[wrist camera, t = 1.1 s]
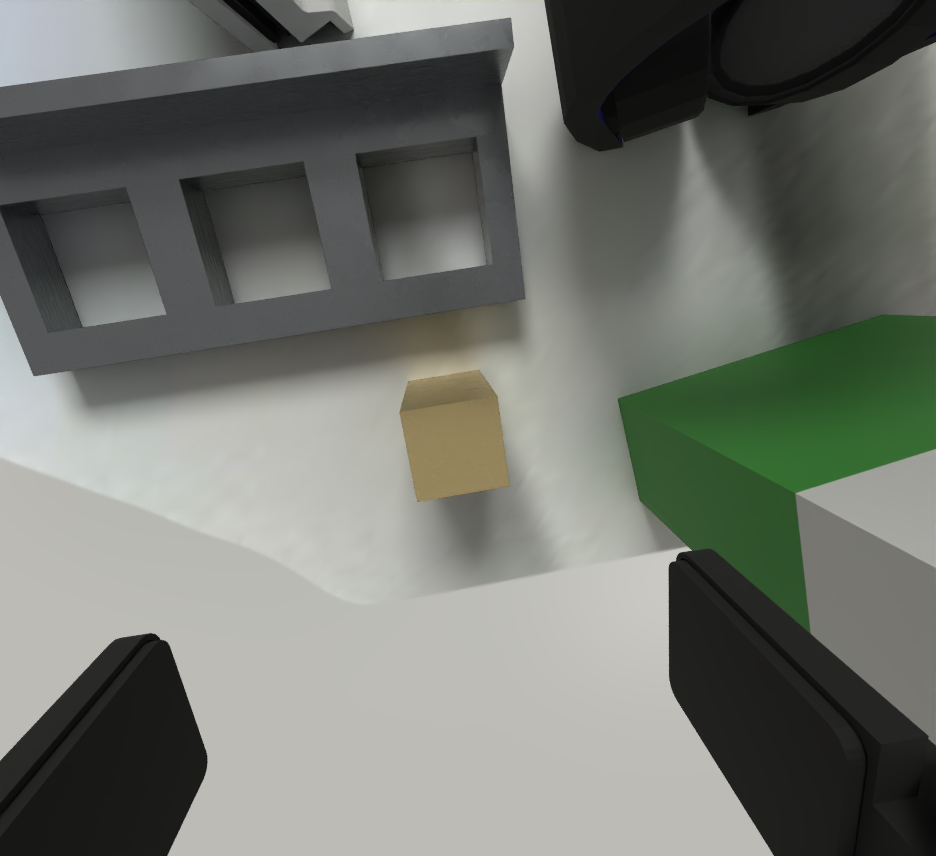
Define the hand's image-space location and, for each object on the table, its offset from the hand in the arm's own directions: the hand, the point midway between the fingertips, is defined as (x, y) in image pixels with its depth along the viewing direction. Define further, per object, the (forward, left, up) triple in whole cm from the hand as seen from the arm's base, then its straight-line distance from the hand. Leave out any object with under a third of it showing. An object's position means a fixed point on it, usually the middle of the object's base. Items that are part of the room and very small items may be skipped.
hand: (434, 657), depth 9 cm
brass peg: (-1, 0, -21) cm, 21 cm away
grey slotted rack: (+7, -11, -21) cm, 25 cm away
